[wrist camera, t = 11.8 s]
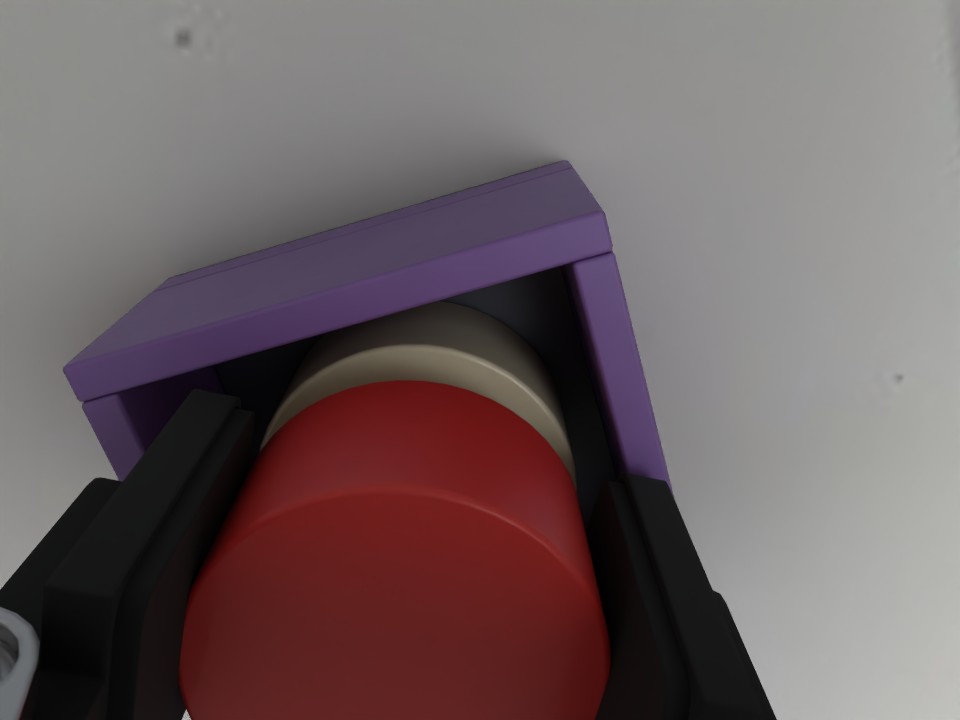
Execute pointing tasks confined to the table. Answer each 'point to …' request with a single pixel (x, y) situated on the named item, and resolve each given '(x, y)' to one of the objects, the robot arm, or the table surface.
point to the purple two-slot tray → (386, 290)
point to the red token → (399, 571)
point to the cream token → (433, 366)
